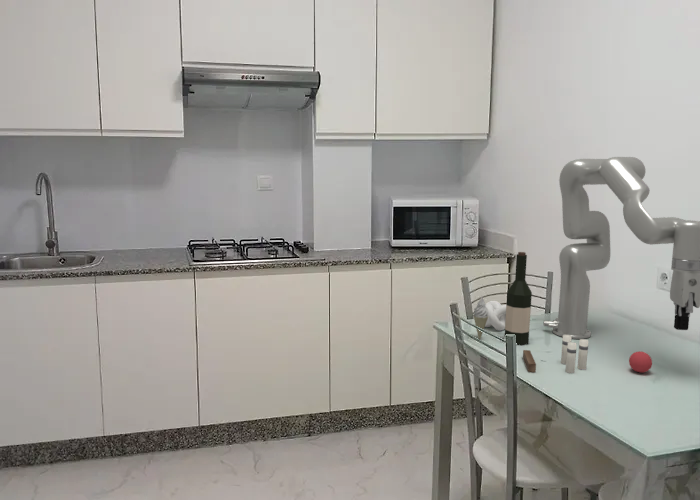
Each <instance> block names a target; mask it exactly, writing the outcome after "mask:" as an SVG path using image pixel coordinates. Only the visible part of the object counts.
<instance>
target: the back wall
mask: <svg viewBox="0 0 700 500" xmlns="http://www.w3.org/2000/svg"><path fill="white" fill-rule="evenodd" d="M522 352H523V353H522V359H523V362H524V364H525V367H526V370H527V372H528V373H536V370H537V369H536V368H537V363H536V361H535V359H534V357H533V354H532V352H531V350H527V349H523V350H522Z"/></svg>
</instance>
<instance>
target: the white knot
mask: <svg viewBox="0 0 700 500" xmlns="http://www.w3.org/2000/svg"><path fill="white" fill-rule="evenodd" d="M485 304H486V305H485V306H486V308H487V309H488V312H489V313H488V316H489V317H488V319H487V322H486V325H485V327H484V328H490V327H493V328H494V329H495V330H496V331H500V332H501V331H503V330H505V320H506V304H501V303H500V302H499V301H497V300H490V301H488V302H486V303H485Z"/></svg>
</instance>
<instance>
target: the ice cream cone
mask: <svg viewBox="0 0 700 500" xmlns="http://www.w3.org/2000/svg"><path fill="white" fill-rule="evenodd" d="M476 305H477V306H476V307H475V308H474V311H473V321H474V323H475V327H476V326H478V327H480V328H482V329H484V330H485V328H486V327H485V325H486V322H487V319H488V317H489V316H488V313H489V312H488V309H487V308H486V306H485V305H486V303H485V300H484V298H483V295H481V297H480V299H479V301H478V302H477V304H476ZM476 332H477V333H476V334H477V337H478V339H479V340H481V338H482V336H483V333H484V331H483V332H481V331H479V330H478V329H477V328H476Z"/></svg>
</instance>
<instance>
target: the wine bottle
mask: <svg viewBox="0 0 700 500" xmlns="http://www.w3.org/2000/svg"><path fill="white" fill-rule="evenodd" d="M527 259H528V255H527V253H526V252H525V251H518V253H517V254H516V258H515V260H516V261H515V276H514V277H515V278H514V280H513V282H512V283H511V285H509V286H510V287H509V288H508V289H507V292H506V304H505V305H506V320H505V328H504V336H505V335H506V334H515V335H516V343H517V345H516V346H525V345H529V342H530V341H529V340H530V325H531V324H530V323H531V312H532V310H531V309H532V294H533V293H532V290H531V287H530V286H529V284H528V283H527V281H526V277H527V276H526V273H527Z"/></svg>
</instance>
